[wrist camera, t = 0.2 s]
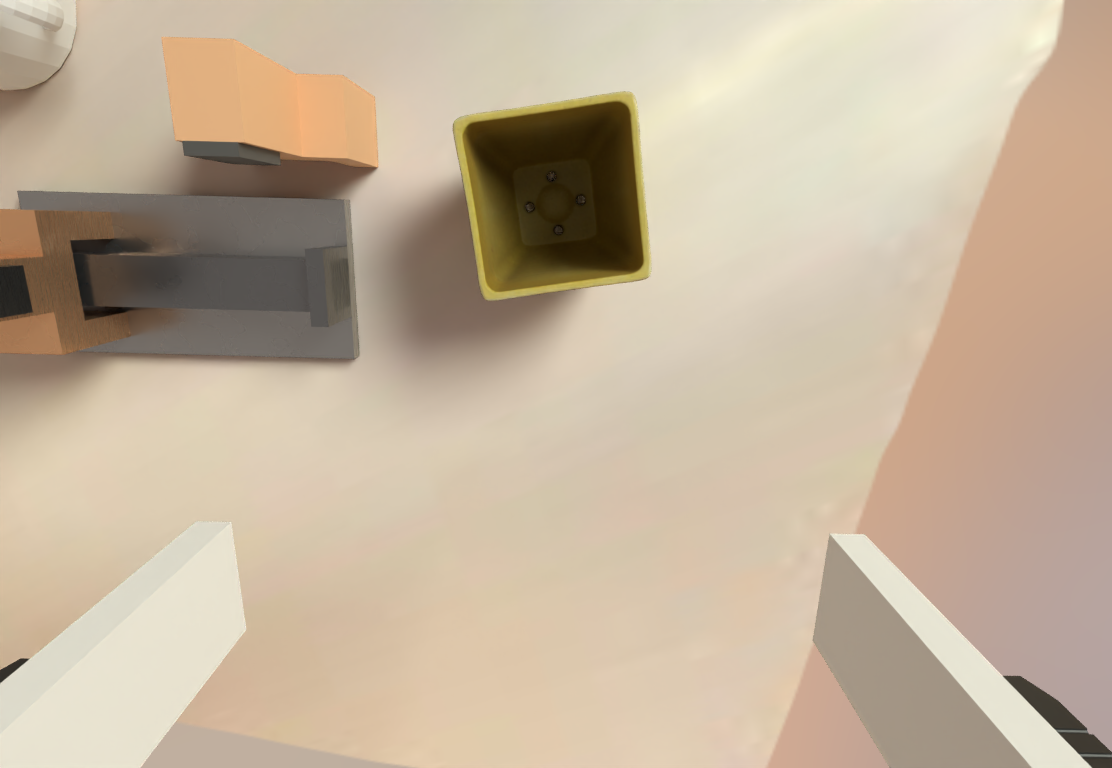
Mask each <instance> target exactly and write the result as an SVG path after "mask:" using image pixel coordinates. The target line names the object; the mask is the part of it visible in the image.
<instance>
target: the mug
mask: <svg viewBox="0 0 1112 768" xmlns="http://www.w3.org/2000/svg"><path fill="white" fill-rule="evenodd" d="M75 31H76V1H75V0H0V89H1V90H18V89H27V88H30V87H32V86H35V85H37V84H40V83H42V82H44V81H46V80H47V79H48V78H49V77H51V76H52V75H53V74H54V73H55V72H56V71H57V70H59V69H60V68H61V66H62V64H63V63H64V61H65V59H66V57H67V56H68V54H69V52H70V51H71V48H72V44H73V40H74V36H75Z"/></svg>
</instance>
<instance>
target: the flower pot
mask: <svg viewBox="0 0 1112 768" xmlns="http://www.w3.org/2000/svg"><path fill="white" fill-rule="evenodd" d="M453 134H454V140H455V145H456V150H457V155H458V160H459V165H460V170H461V175H462V181H463V186H464V191H465V196H466V202H467V207H468V214H469V220H470V226H471V233H472V239H473V246H474V253H475V259H476V266H477V274H478V281H479V287H480V291H481V295H482V296H483V298H484V299H485V300H486V301H497V300H504V299H510V298H517V297H524V296H530V295H537V294H544V293H551V292H558V291H566V290H574V289H581V288H588V287H595V286H603V285H611V284H617V283H626V282H634V281H639V280H644V279H646V278H648V277H649V276H650V274H651V270H652V265H651V253H650V244H649V233H648V223H647V213H646V202H645V190H644V181H643V169H642V157H641V145H640V129H639V118H638V109H637V102H636V99H635V96H634V95H633V93H631V92H625V91H624V92H615V93H609V94H602V95H596V96H590V97H585V98H579V99H572V100H566V101H560V102H554V103H547V104H541V105H534V106H527V107H520V108H514V109H506V110H499V111H491V112H483V113H476V114H471V115H466V116H462V117H459V118H458V119H456V120H455V121H454V123H453ZM550 172H554V173H555V174H556V179H555V180H554V181H553V182H551V181H549V180H548V178H547V175H548V173H550ZM579 195H582V196H584V197H585V203H584V204H582V205H579V204H578V203H577V202H576V199H577V197H578V196H579ZM529 202H530V203H533V204H534V210H533V211H531V212H529V211H527V210H526V208H525V206H526V204H527V203H529ZM557 225H560V226H562V228H563V232H562V233H561V234H556V233H555V232H554V228H555V227H556V226H557Z"/></svg>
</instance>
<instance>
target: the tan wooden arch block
mask: <svg viewBox="0 0 1112 768" xmlns="http://www.w3.org/2000/svg"><path fill="white" fill-rule="evenodd" d="M162 45H163V52H164V60H165V67H166V75H167V82H168V90H169V97H170V105H171V112H172V120H173V127H174V135H175V140H176V141H181V142H182V143H183V150H184V155H185V156H191V157H196V158H202V159H208V160H213V161H219V162H224V163H230V164H251V165H281V161H280V160H310V161H333V162H337V163H341V164H344V165H348V166H352V167H378V151H377V131H376V111H375V97H374V96H373V95H371V94H370V93H368V92H367V91H365V90H364V89H362V88H361V87H359V86H358V85H356V84H355V83H353V82H352V81H351V80H349V79H348V78H346V77H345V76H343V75H319V74H295V73H293V72H292V71H290V70H288V69H286V68H285V67H283V66H281V65H279V64H277V63H276V62H274V61H272V60H270V59H269V58H267V57H265V56H263V55H261V54H260V53H258V52H256V51H254V50H252V49H251V48H249V47H247V46H245V45H244V44H242V43H240V42H238V41H236V40H235V39H216V38H181V37H162Z"/></svg>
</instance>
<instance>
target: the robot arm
mask: <svg viewBox="0 0 1112 768" xmlns="http://www.w3.org/2000/svg"><path fill="white" fill-rule="evenodd" d="M245 630H246V624H245V617H244V610H243V602H242V595H241V588H240V581H239V574H238V567H237V560H236V553H235V545H234V538H233V531H232V524H231V522H205V521H196V522H195V523H194V524H192V525H191V526H190V527H189V528H188V529H186V530H185V531H184V532H183V533H182V534H180V535H179V536H178V537H177V538H176V539H174V540H173V541H172V542H171V543H170V544H168V545H167V546H166V547H165V548H163V549H162V550H161V551H160V552H159V553H157V554H156V555H155V556H154V557H153V558H151V559H150V560H149V561H148V562H147V563H145V564H144V565H143V566H142V567H140V568H139V569H138V570H137V571H136V572H134V573H133V574H132V575H131V576H130V577H128V578H127V579H126V580H125V581H124V582H122V583H121V584H120V585H119V586H118V587H116V588H115V589H114V590H113V591H111V592H110V593H109V594H108V595H107V596H105V597H104V598H103V599H102V600H101V601H99V602H98V603H97V604H96V605H95V606H93V607H92V608H91V609H90V610H88V611H87V612H86V613H85V614H84V615H82V616H81V617H80V618H79V619H78V620H76V621H75V622H74V623H73V624H72V625H70V626H69V627H68V628H67V629H65V630H64V631H63V632H62V633H61V634H59V635H58V636H57V637H56V638H55V639H53V640H52V641H51V642H50V643H49V644H47V645H46V646H45V647H44V648H43V649H41V650H40V651H39V652H38V653H36V654H35V655H34V656H33V657H32V658H30V659H19V660H17V661H16V662H14V663H12V664H10V665H8V666H7V667H5V668H3V669H1V670H0V768H140V767H141V766H142V765H143V763H144V762H145V760H147V758H148V757H149V756H150V754H151V753H152V752H153V750H154V749H155V748H156V746H157V745H158V744H159V743H160V741H161V740H162V739H163V737H164V736H165V734H166V733H167V732H168V731H169V729H170V728H171V727H172V725H173V724H174V723H175V722H176V720H177V719H178V718H179V716H180V715H181V714H182V713H183V711H184V710H185V709H186V707H187V706H188V705H189V703H190V702H191V701H192V700H193V698H194V697H195V696H196V694H197V693H198V692H199V690H200V689H201V688H202V686H203V685H204V684H205V683H206V681H207V680H208V679H209V677H210V676H211V675H212V673H213V672H214V671H215V670H216V668H217V667H218V666H219V664H220V663H221V662H222V660H223V659H224V658H225V656H226V655H227V654H228V653H229V651H230V650H231V649H232V647H233V646H234V645H235V643H236V642H237V641H238V640H239V638H240V637H241V636H242V634H243V633H244V632H245ZM813 642H814V643H815V645H816V647H817V648H818V650H819V652H820V653H821V655H822V657H823V658H824V660H825V662H826V663H827V665H828V666H829V668H830V670H831V672H832V673H833V675H834V676H835V678H836V680H837V681H838V683H839V685H840V686H841V688H842V690H843V691H844V693H845V694H846V696H847V698H848V700H849V701H850V703H851V705H852V706H853V708H854V709H855V711H856V713H857V714H858V716H859V718H860V719H861V721H862V723H863V724H864V726H865V728H866V729H867V731H868V732H869V734H870V736H871V738H872V739H873V741H874V743H875V744H876V746H877V748H878V749H879V751H880V752H881V754H882V756H883V757H884V759H885V761H886V762H887V764H888V766H889V767H890V768H1112V752H1111V751H1110V750H1109V749H1107V747H1106V746H1105V745H1103V744H1102V743H1101V742H1100V741H1099V740H1098V739H1097V738H1096V737H1095V736H1094V735H1091V734H1088V732H1087V728H1086V727H1085V726H1084V725H1083V724H1082V723H1080V721H1079V720H1077V719H1076V718H1075V717H1074V716H1073V715H1072V714H1071V713H1070V712H1069V711H1068V710H1067V709H1066V708H1065V707H1064V706H1063V705H1062V704H1061V703H1060V702H1059V701H1058V700H1056V699H1054V698H1053V697H1052V696H1050V695H1049V694H1047V693H1046V692H1044V691H1042V690H1041V689H1039V688H1038V687H1036V686H1035V685H1033V684H1032V683H1030V682H1029V681H1027V680H1026V679H1024V678H1022V677H1021V676H1002V675H1001V674H1000V673H999V672H998V671H997V670H996V669H995V668H994V667H993V666H992V665H991V664H990V663H989V662H988V661H987V660H986V659H985V658H984V657H983V656H982V655H981V653H980V652H979V651H978V650H977V649H976V648H975V647H974V646H973V645H972V644H971V643H970V642H969V641H968V640H967V639H966V638H965V637H964V636H963V635H962V634H961V633H960V632H959V631H958V630H957V629H956V628H955V627H954V626H953V625H952V624H951V623H950V622H949V621H948V620H947V619H946V618H945V617H944V616H943V614H942V613H941V612H940V611H939V610H938V609H937V608H936V607H935V606H934V605H933V604H932V603H931V602H930V601H929V600H928V599H927V598H926V597H925V596H924V595H923V594H922V593H921V592H920V591H919V590H918V589H917V588H916V587H915V586H914V585H913V584H912V583H911V582H910V581H909V580H908V579H907V578H906V577H905V575H904V574H902V572H901V571H900V570H899V569H898V568H897V567H896V566H895V565H894V564H892V562H891V561H890V560H889V559H888V558H887V557H886V556H885V555H884V554H883V553H882V552H881V551H880V550H879V549H878V548H877V547H876V546H875V545H874V544H873V543H872V542H871V541H870V540H869V539H868V538H867V537H866V535H864V534H829V540H828V547H827V553H826V559H825V566H824V572H823V578H822V585H821V591H820V597H819V604H818V610H817V616H816V623H815V629H814V635H813Z"/></svg>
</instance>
